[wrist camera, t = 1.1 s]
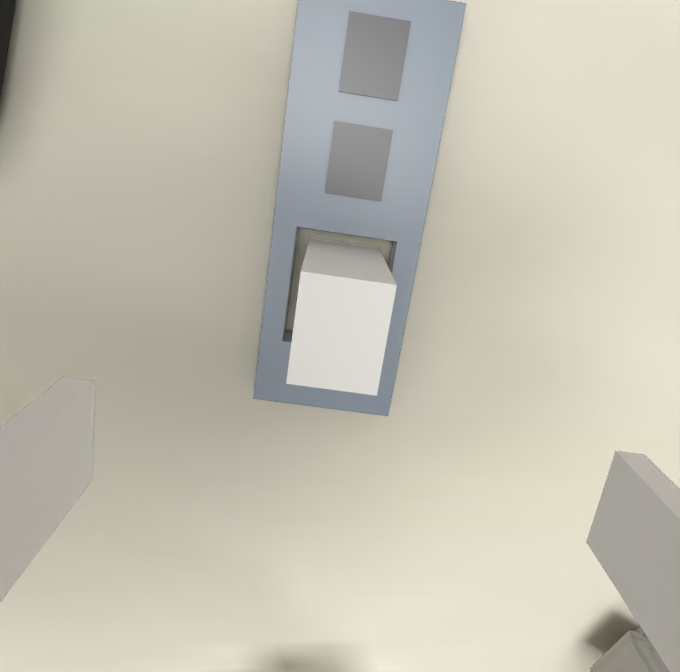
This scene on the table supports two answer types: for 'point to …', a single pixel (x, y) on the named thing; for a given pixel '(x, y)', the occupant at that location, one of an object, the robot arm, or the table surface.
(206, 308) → the table surface
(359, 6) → the power strip
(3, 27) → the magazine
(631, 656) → the network device
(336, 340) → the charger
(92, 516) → the table surface
